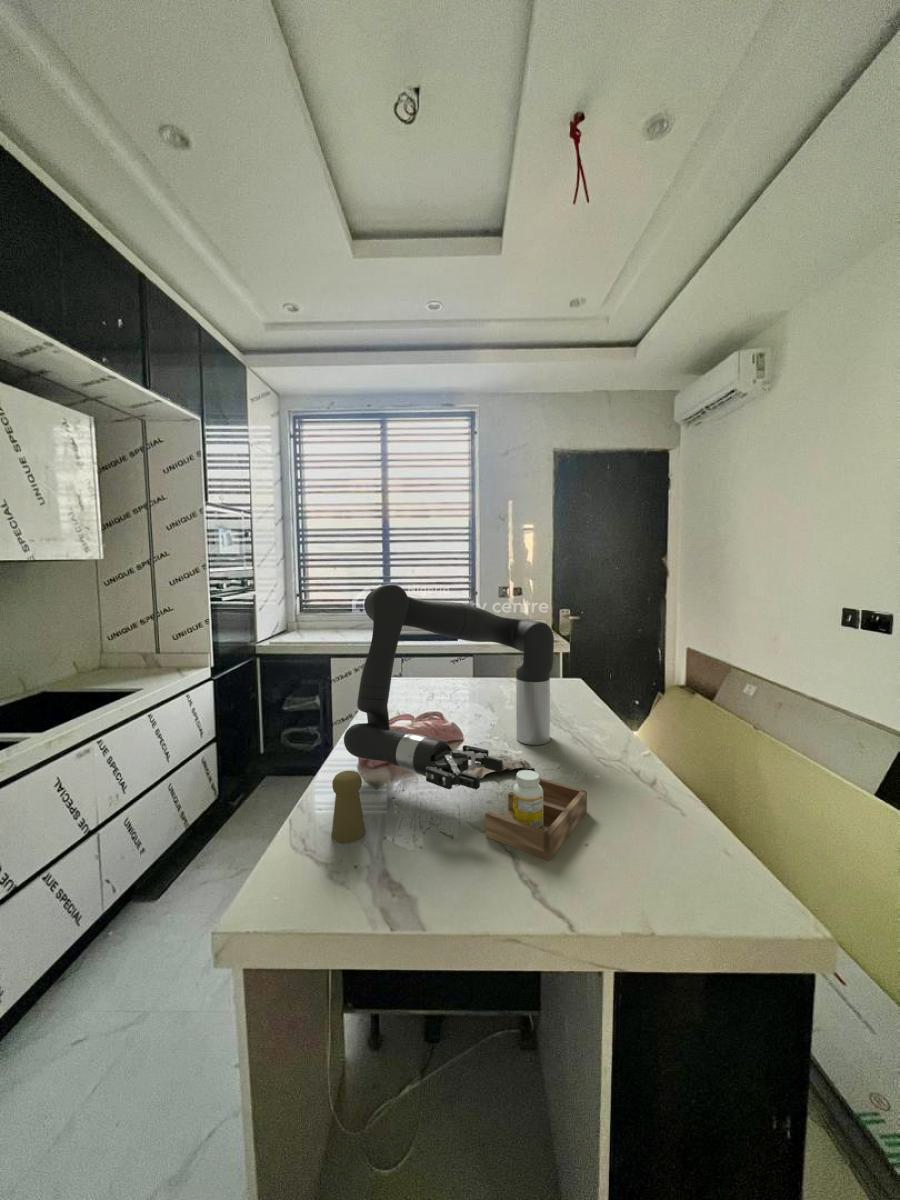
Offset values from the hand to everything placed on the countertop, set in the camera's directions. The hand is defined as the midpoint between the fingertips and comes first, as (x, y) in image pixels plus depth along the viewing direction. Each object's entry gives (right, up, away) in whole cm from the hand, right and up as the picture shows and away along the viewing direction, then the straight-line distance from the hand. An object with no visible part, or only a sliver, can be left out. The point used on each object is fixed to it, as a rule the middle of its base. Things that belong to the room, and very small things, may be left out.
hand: (491, 774), depth 83 cm
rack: (+9, -9, -1) cm, 13 cm away
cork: (-26, -10, -3) cm, 28 cm away
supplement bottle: (+6, -8, -4) cm, 11 cm away
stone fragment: (0, -9, +21) cm, 23 cm away
